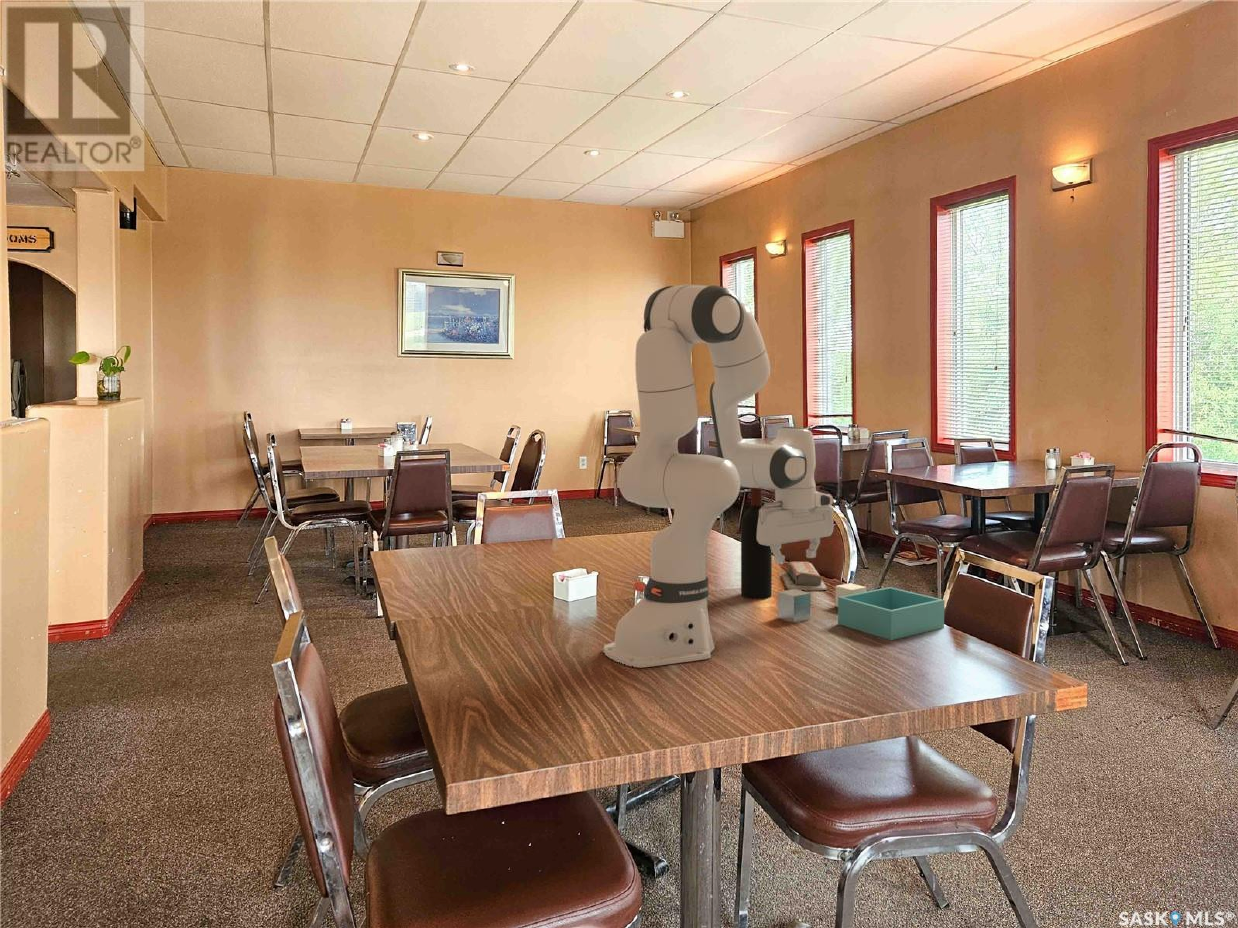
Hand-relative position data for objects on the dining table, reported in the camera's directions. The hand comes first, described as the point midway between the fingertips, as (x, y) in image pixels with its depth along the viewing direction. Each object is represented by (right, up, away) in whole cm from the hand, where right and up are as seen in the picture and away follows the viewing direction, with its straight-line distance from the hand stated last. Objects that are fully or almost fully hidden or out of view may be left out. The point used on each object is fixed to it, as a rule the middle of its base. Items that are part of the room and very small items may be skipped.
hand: (795, 560), depth 188 cm
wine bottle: (-5, -12, +22) cm, 26 cm away
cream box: (+15, -12, +10) cm, 22 cm away
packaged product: (+10, -11, +36) cm, 38 cm away
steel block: (0, -13, +1) cm, 13 cm away
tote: (+19, -14, -6) cm, 24 cm away
